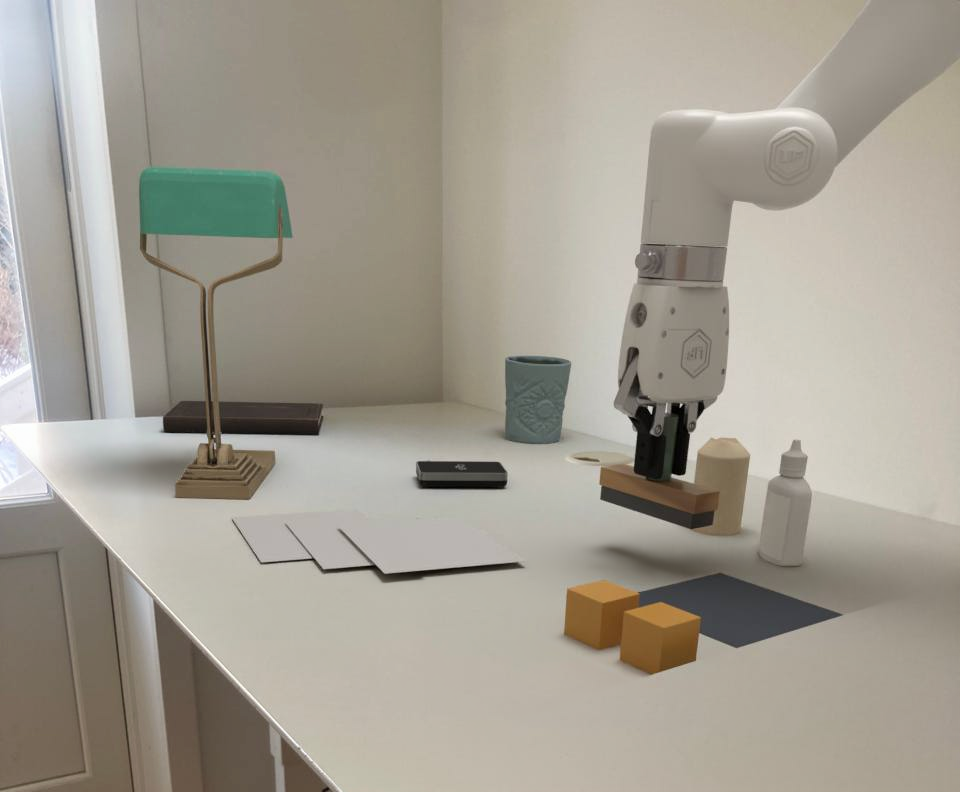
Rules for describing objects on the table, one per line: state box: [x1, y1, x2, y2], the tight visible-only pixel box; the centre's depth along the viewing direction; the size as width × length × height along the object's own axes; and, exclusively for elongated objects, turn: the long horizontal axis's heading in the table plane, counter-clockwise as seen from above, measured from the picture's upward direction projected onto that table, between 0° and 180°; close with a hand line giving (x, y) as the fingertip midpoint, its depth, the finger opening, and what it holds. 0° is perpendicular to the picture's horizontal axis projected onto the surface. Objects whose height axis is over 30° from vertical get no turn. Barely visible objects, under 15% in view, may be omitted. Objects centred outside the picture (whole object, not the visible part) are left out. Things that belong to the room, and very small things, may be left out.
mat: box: [637, 572, 844, 649], centre depth 87 cm, size 14×18×1 cm
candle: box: [691, 436, 751, 537], centre depth 111 cm, size 6×6×10 cm
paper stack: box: [231, 508, 526, 575], centre depth 103 cm, size 23×25×1 cm
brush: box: [598, 412, 720, 530], centre depth 97 cm, size 3×12×9 cm, turn 38°
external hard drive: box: [415, 460, 508, 489], centre depth 129 cm, size 7×11×2 cm, turn 97°
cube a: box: [619, 602, 701, 675], centre depth 76 cm, size 4×4×4 cm
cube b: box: [563, 579, 640, 651], centre depth 80 cm, size 4×4×4 cm
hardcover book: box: [162, 400, 324, 436], centre depth 162 cm, size 16×23×2 cm
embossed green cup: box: [504, 355, 572, 444], centre depth 157 cm, size 10×10×12 cm
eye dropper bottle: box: [758, 438, 813, 567], centre depth 101 cm, size 4×6×12 cm
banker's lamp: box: [138, 166, 293, 500], centre depth 121 cm, size 16×21×35 cm
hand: (659, 472), depth 97 cm, fingers closed on brush, 2 cm apart
